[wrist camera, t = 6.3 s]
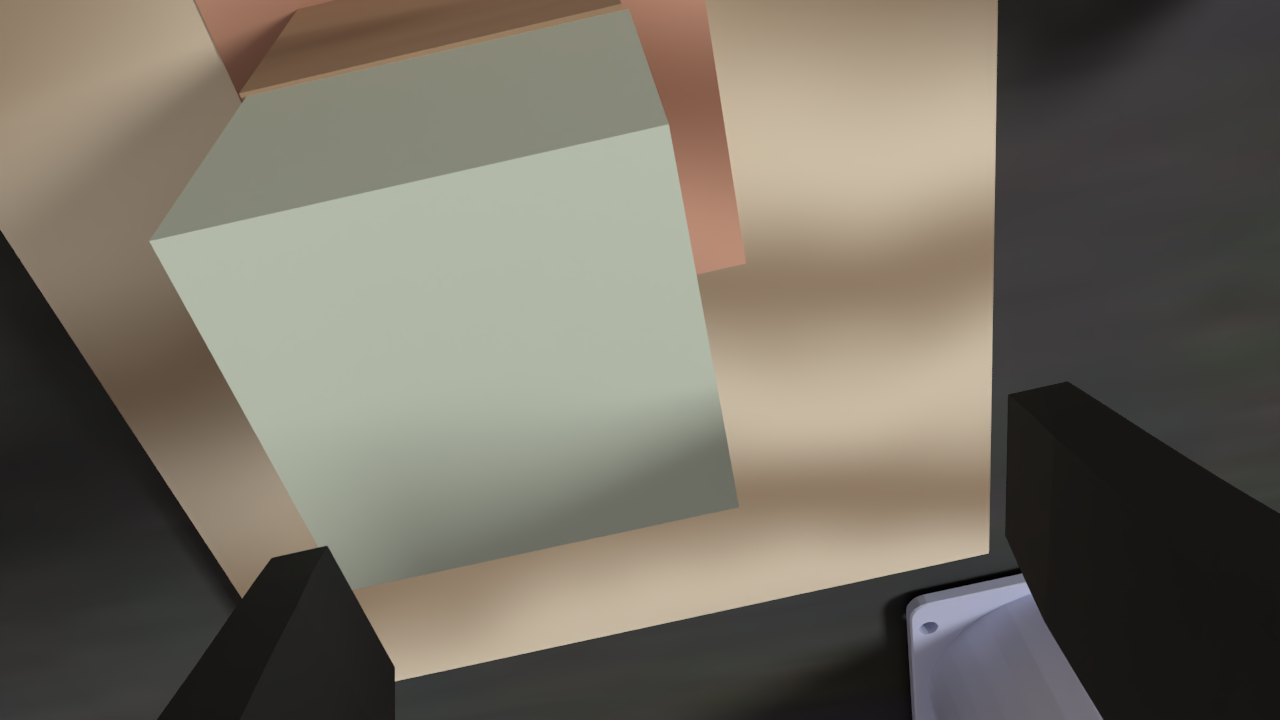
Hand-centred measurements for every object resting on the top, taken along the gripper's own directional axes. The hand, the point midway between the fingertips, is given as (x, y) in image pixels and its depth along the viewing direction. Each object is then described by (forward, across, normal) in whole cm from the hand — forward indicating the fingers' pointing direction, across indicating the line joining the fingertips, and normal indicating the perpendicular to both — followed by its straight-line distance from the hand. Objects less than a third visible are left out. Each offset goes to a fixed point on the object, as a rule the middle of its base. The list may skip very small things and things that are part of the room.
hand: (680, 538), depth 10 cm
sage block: (+5, +2, -2) cm, 6 cm away
